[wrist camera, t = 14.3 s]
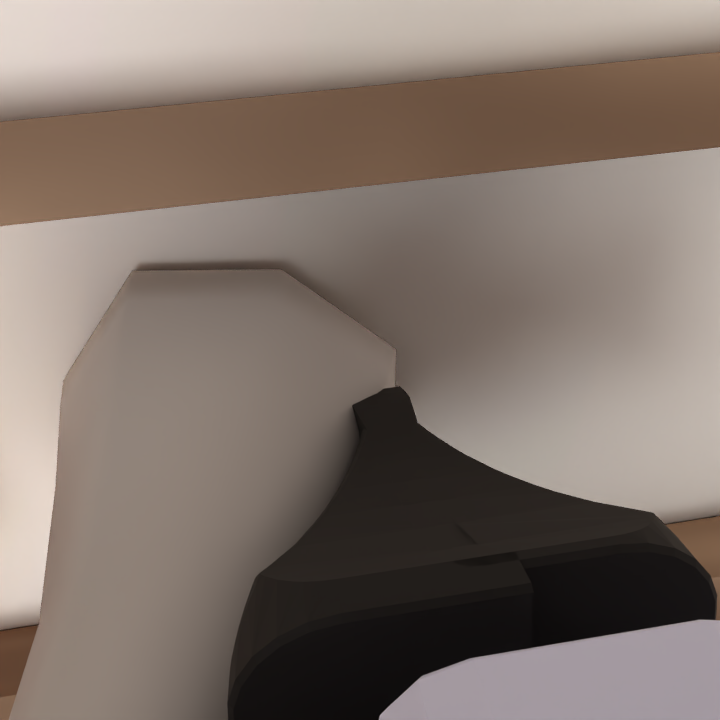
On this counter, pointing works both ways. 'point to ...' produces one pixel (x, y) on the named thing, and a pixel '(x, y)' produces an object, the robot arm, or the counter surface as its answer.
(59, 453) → the flask
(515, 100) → the strip
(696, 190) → the counter surface
